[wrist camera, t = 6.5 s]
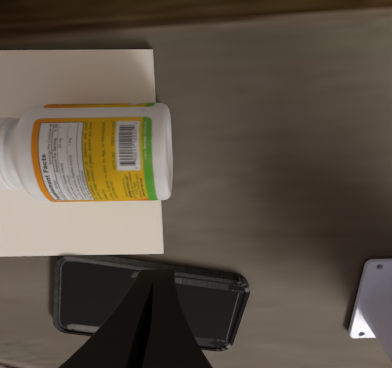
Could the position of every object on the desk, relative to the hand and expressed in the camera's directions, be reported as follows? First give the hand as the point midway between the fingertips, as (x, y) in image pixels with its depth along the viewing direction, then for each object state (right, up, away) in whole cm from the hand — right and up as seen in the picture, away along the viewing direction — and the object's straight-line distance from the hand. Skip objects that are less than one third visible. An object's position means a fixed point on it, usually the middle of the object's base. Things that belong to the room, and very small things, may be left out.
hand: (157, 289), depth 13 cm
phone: (-2, -5, +14) cm, 15 cm away
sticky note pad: (-8, +6, +9) cm, 13 cm away
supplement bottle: (0, +6, +5) cm, 8 cm away
